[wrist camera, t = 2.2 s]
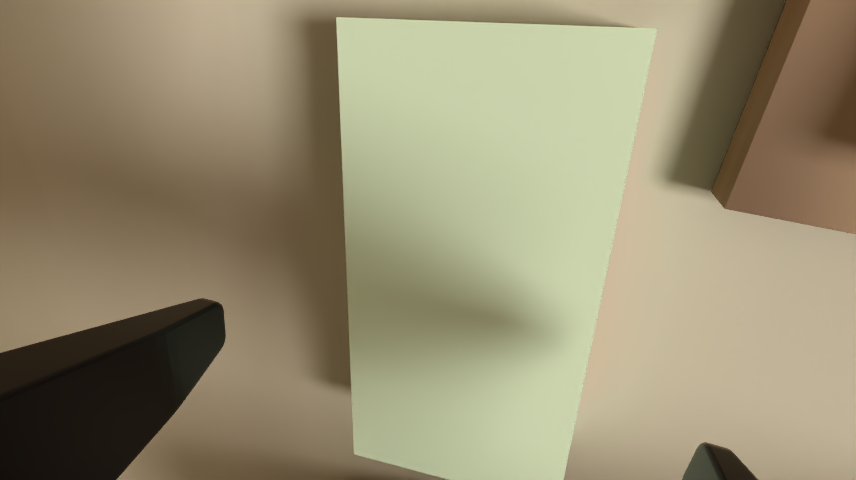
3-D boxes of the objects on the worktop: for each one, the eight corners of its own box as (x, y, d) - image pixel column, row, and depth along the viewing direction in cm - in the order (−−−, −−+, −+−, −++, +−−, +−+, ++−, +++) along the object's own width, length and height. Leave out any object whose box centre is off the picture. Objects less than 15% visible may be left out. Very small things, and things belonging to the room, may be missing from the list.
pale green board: (638, 28, 11) (657, 28, 8) (561, 428, 16) (557, 508, 13) (388, 19, 12) (336, 17, 10) (388, 389, 17) (353, 454, 15)
